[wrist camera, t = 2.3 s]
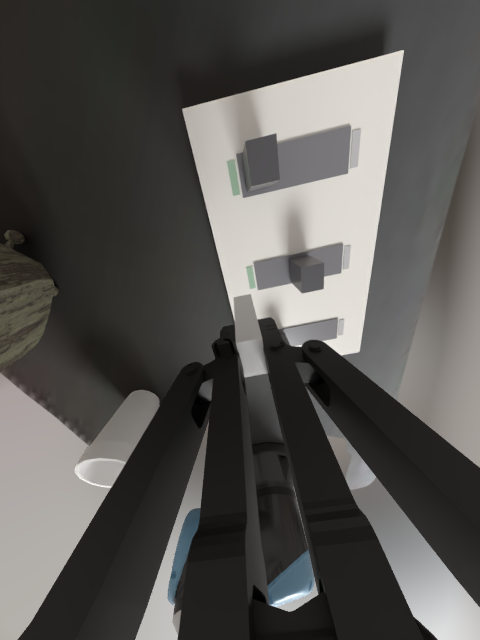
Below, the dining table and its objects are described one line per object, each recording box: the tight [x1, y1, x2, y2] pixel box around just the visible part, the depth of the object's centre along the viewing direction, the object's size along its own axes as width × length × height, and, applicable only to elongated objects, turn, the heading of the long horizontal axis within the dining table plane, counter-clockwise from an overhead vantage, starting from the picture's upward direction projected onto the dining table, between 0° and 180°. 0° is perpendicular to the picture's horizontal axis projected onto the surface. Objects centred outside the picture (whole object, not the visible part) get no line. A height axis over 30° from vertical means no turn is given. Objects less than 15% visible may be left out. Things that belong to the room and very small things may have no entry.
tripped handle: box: [289, 255, 324, 293], centre depth 22 cm, size 3×2×4 cm
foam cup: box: [75, 390, 159, 488], centre depth 34 cm, size 10×9×13 cm
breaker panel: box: [182, 50, 404, 355], centre depth 26 cm, size 34×20×3 cm, turn 11°
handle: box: [242, 134, 280, 192], centre depth 17 cm, size 3×2×4 cm
